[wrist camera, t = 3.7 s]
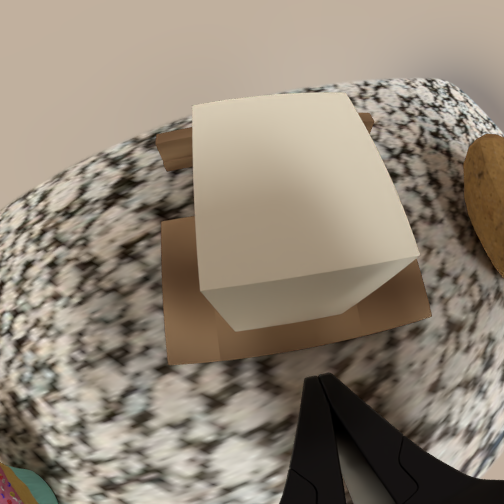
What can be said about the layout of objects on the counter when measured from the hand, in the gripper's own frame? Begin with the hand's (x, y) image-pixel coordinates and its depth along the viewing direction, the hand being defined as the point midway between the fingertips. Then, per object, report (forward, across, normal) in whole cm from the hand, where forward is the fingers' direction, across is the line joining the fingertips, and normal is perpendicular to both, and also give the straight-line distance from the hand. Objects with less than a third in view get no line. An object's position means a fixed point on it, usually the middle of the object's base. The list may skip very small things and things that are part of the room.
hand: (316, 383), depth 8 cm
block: (+9, 0, 0) cm, 9 cm away
